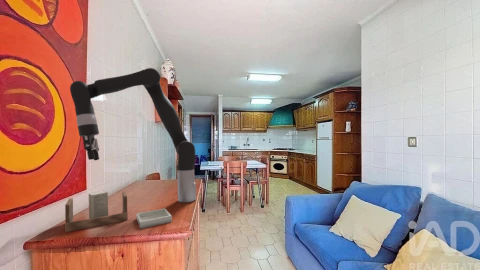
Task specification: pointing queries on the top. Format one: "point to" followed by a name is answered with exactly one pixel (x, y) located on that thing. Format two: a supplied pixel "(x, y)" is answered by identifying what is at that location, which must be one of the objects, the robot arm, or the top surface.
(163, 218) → the dish
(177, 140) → the robot arm
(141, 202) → the top surface
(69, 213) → the two-post stand
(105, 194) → the skincare box
